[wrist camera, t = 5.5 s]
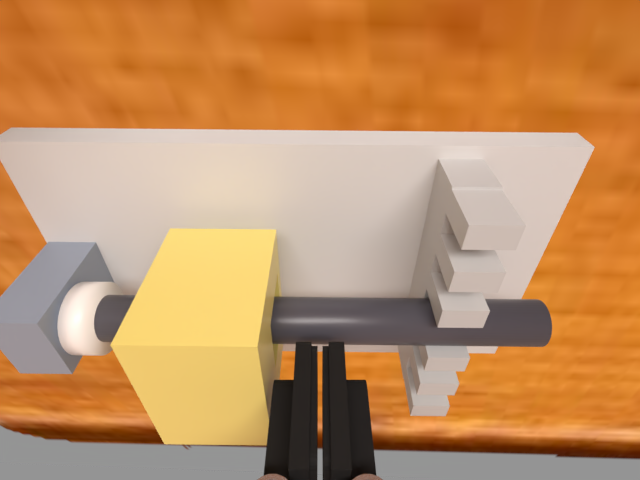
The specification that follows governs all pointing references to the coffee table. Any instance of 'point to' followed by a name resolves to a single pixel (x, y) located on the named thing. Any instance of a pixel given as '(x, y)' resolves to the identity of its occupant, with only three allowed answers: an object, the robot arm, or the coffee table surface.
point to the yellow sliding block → (206, 336)
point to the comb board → (298, 236)
